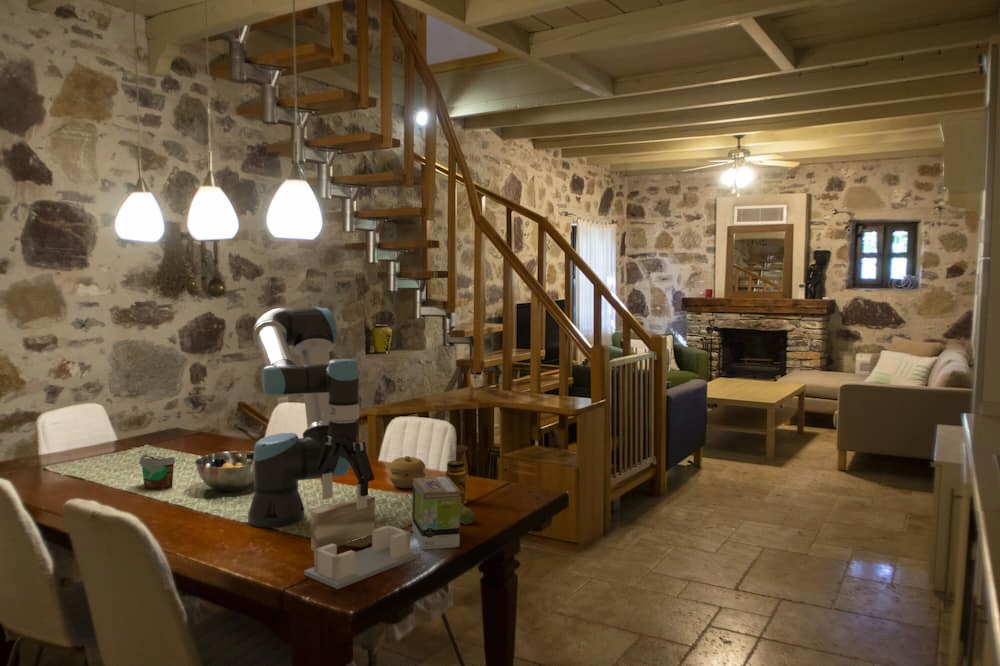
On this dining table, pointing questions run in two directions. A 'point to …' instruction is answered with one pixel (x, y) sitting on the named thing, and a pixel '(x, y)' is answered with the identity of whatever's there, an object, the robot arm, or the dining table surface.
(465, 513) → the pear
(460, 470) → the condiment
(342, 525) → the slat
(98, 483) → the dining table surface
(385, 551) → the frame
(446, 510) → the tea box
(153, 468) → the food container
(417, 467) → the pot
